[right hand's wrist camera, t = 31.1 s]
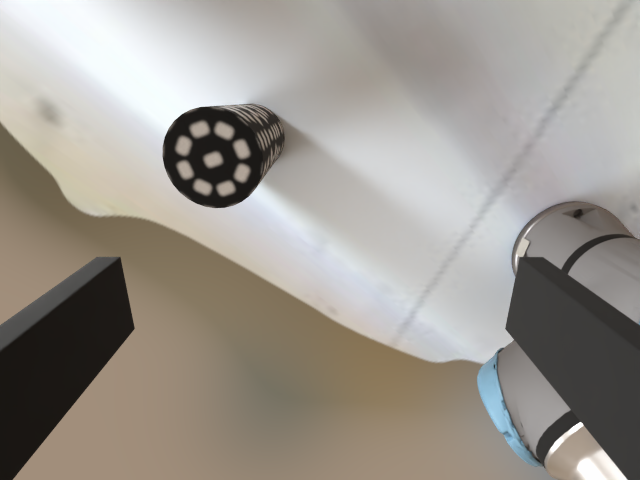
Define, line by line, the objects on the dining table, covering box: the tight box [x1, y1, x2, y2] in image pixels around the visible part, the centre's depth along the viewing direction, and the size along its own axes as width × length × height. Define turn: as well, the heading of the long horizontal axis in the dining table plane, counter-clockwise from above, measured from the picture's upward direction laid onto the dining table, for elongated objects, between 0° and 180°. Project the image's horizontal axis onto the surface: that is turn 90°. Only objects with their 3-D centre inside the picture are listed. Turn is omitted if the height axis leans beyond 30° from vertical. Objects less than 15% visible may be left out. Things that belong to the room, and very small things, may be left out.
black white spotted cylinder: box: [163, 104, 284, 208], centre depth 41 cm, size 8×8×20 cm
